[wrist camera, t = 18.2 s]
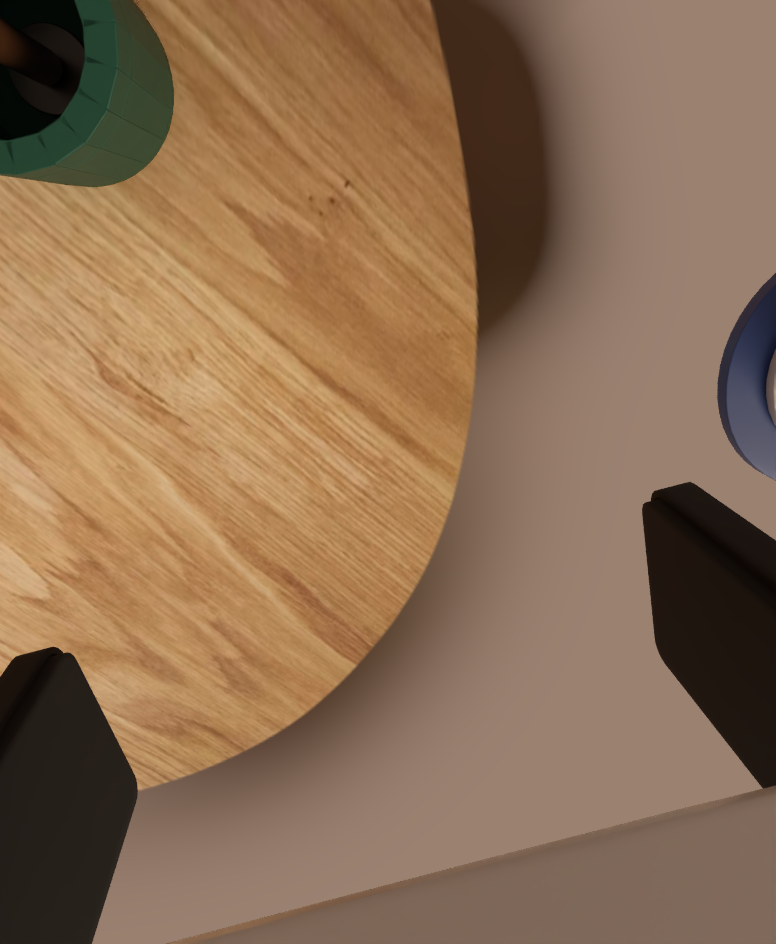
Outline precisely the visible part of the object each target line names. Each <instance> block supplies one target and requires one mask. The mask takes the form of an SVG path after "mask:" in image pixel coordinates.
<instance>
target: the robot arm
mask: <svg viewBox="0 0 776 944" xmlns="http://www.w3.org/2000/svg"><path fill="white" fill-rule="evenodd" d="M766 398H767V404H768V410H769V413H770V415H771V418H772V420H773V423H774V425H775V426H776V349H775V352H774V355H773V357H772V360H771V362H770V366H769V371H768V375H767V382H766ZM642 514H643V524H644V534H645V545H646V555H647V565H648V575H649V585H650V595H651V605H652V615H653V624H654V635H655V642H656V646H657V649H658V651H659V654H660V656H661V658H662V660H663V661H664V663H665V664H666V666H667V667H668V668H669V669H670V670H671V672H672V673H673V674H674V676H675V677H676V678H677V680H678V681H679V682H680V683H681V685H682V686H683V687H684V688H685V690H686V691H687V692H688V694H689V695H690V696H691V697H692V699H693V700H694V701H695V702H696V704H697V705H698V706H699V707H700V709H701V710H702V711H703V713H704V714H705V715H706V717H707V718H708V719H709V720H710V722H711V723H712V724H713V725H714V727H715V728H716V729H717V731H718V732H719V733H720V734H721V736H722V737H723V738H724V739H725V741H726V742H727V743H728V745H729V746H730V747H731V748H732V750H733V751H734V752H735V753H736V755H737V756H738V757H739V759H740V760H741V761H742V762H743V764H744V765H745V766H746V767H747V769H748V770H749V771H750V773H751V774H752V775H753V776H754V778H755V779H756V780H757V781H758V783H759V784H760V785H761V787H762V788H763V789H760V790H756V791H753V792H748V793H744V794H741V795H737V796H733V797H729V798H725V799H721V800H716V801H712V802H708V803H703V804H699V805H695V806H691V807H687V808H683V809H679V810H675V811H671V812H667V813H663V814H659V815H656V816H652V817H648V818H644V819H640V820H636V821H632V822H628V823H624V824H620V825H616V826H613V827H609V828H605V829H601V830H597V831H593V832H589V833H585V834H582V835H578V836H574V837H570V838H566V839H562V840H558V841H554V842H550V843H546V844H542V845H539V846H535V847H531V848H527V849H523V850H519V851H515V852H511V853H507V854H504V855H500V856H496V857H492V858H488V859H484V860H480V861H477V862H473V863H469V864H465V865H461V866H458V867H454V868H450V869H446V870H442V871H439V872H435V873H431V874H427V875H423V876H419V877H416V878H412V879H408V880H404V881H400V882H396V883H393V884H389V885H385V886H381V887H378V888H374V889H370V890H366V891H362V892H359V893H355V894H351V895H347V896H343V897H339V898H336V899H332V900H328V901H324V902H320V903H317V904H313V905H309V906H305V907H302V908H298V909H294V910H290V911H287V912H283V913H279V914H275V915H271V916H267V917H264V918H260V919H256V920H252V921H249V922H245V923H241V924H237V925H234V926H230V927H226V928H223V929H219V930H216V931H211V932H208V933H204V934H200V935H197V936H193V937H189V938H185V939H182V940H178V941H175V942H171V943H167V944H776V541H775V540H774V539H773V538H771V537H769V536H768V535H767V534H766V533H764V532H763V531H761V530H760V529H758V528H757V527H756V526H754V525H753V524H751V523H750V522H748V521H747V520H746V519H744V518H743V517H741V516H740V515H738V514H737V513H735V512H734V511H733V510H731V509H730V508H728V507H727V506H725V505H724V504H723V503H721V502H720V501H718V500H717V499H715V498H714V497H712V496H711V495H710V494H708V493H707V492H705V491H704V490H703V489H701V488H700V487H698V486H697V485H695V484H694V483H691V482H688V483H683V484H679V485H676V486H672V487H668V488H664V489H660V490H657V491H654V492H653V493H652V497H651V501H650V502H646V503H644V504H643V508H642ZM137 792H138V790H137V782H136V778H135V775H134V773H133V771H132V769H131V767H130V765H129V763H128V761H127V759H126V757H125V755H124V753H123V751H122V749H121V747H120V745H119V743H118V741H117V739H116V737H115V735H114V733H113V731H112V729H111V727H110V725H109V723H108V721H107V719H106V717H105V715H104V714H103V712H102V710H101V708H100V706H99V704H98V702H97V700H96V698H95V696H94V694H93V692H92V690H91V688H90V686H89V684H88V682H87V680H86V678H85V676H84V674H83V672H82V670H81V668H80V666H79V664H78V662H77V660H76V659H75V657H74V656H73V655H72V654H71V653H63V652H62V651H61V650H60V649H59V648H56V647H50V648H46V649H42V650H39V651H35V652H31V653H27V654H23V655H20V656H16V657H15V658H14V659H13V660H12V661H11V662H10V664H9V665H8V667H7V668H6V670H5V671H4V672H3V674H2V675H1V677H0V944H92V941H93V938H94V935H95V932H96V928H97V925H98V922H99V919H100V916H101V912H102V909H103V906H104V903H105V900H106V897H107V893H108V890H109V887H110V884H111V880H112V877H113V874H114V871H115V868H116V864H117V861H118V858H119V855H120V851H121V849H122V845H123V842H124V839H125V836H126V833H127V829H128V826H129V823H130V820H131V817H132V813H133V810H134V807H135V804H136V800H137Z"/></svg>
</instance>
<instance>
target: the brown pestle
mask: <svg viewBox="0 0 776 944" xmlns="http://www.w3.org/2000/svg"><path fill="white" fill-rule="evenodd" d="M84 60H85V56H84V42H83V41H81V40H80V39H79V38H77V37H76V36H75V35H73V34H72V33H71V32H69V31H68V30H67V29H65V28H63V27H61V26H59V25H57V24H53V23H49V22H36V23H31V24H28V25H26V26H25V27H23V28H22V29H20V30H19V29H17V28H16V27H14V26H13V25H11V24H10V23H8V22H7V21H5V20H3V19H2V18H0V64H1V65H3V66H5V67H8V72H9V75H10V78H11V81H12V83H13V85H14V87H15V89H16V91H17V92H18V93H19V95H20V96H21V97H22V98H23V99H24V101H25V102H27V103H28V104H29V105H30V106H32V107H33V108H34V109H36V110H38V111H40V112H42V113H45V114H47V115H50V116H52V117H55V118H57V119H58V118H59V117H60V116H61V115H62V113H63V111H64V110H65V108H66V107H67V105H68V104H69V102H70V101H71V99H72V97H73V96H74V94H75V93H76V91H77V90H78V85H79V81H80V77H81V73H82V68H83V64H84Z"/></svg>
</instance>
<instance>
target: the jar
mask: <svg viewBox="0 0 776 944" xmlns="http://www.w3.org/2000/svg"><path fill="white" fill-rule="evenodd" d="M0 18H2V19H3V20H5V21H7V22H8V23H10V24H11V25H13V26H14V27H16V28H17V29H19V30H20V29H22V28H23V27H25V26H26V25H28V24H31V23H36V22H49V23H53V24H57V25H59V26H61V27H63V28H65V29H67V30H68V31H69V32H71V33H72V34H73V35H75V36H76V37H77V38H79V39H80V40H81V41H83V42H84V56H85V60H84V64H83V68H82V73H81V77H80V81H79V85H78V90H77V91H76V93H75V94H74V96H73V97H72V99H71V101H70V102H69V104H68V105H67V107H66V108H65V110H64V111H63V113H62V115H61V116H60V117H59V118H58V119H57V118H55V117H52V116H50V115H47V114H45V113H42V112H40V111H38V110H36V109H34V108H33V107H32V106H30V105H29V104H28V103H27V102H25V101H24V99H23V98H22V97H21V96H20V95H19V93H18V92H17V91H16V89H15V87H14V85H13V83H12V81H11V78H10V75H9V72H8V67H5V66H3V65H1V64H0V175H2V176H9V177H16V178H23V179H30V180H37V181H44V182H51V183H57V184H64V185H74V186H85V187H99V186H106V185H112V184H115V183H118V182H121V181H124V180H126V179H128V178H130V177H132V176H134V175H135V174H137V173H138V172H139V171H141V170H142V169H143V168H144V167H146V166H147V165H148V164H149V163H150V162H151V161H152V159H153V158H154V157H155V155H156V154H157V153H158V151H159V150H160V148H161V146H162V144H163V143H164V141H165V139H166V136H167V133H168V131H169V128H170V124H171V119H172V114H173V105H174V89H173V81H172V74H171V70H170V66H169V62H168V59H167V56H166V54H165V51H164V48H163V46H162V44H161V42H160V40H159V38H158V36H157V34H156V32H155V31H154V29H153V28H152V26H151V25H150V23H149V22H148V20H147V19H146V17H145V16H144V14H143V13H142V11H141V10H140V9H139V7H138V6H137V5H136V4H135V3H134V1H133V0H0Z"/></svg>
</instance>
